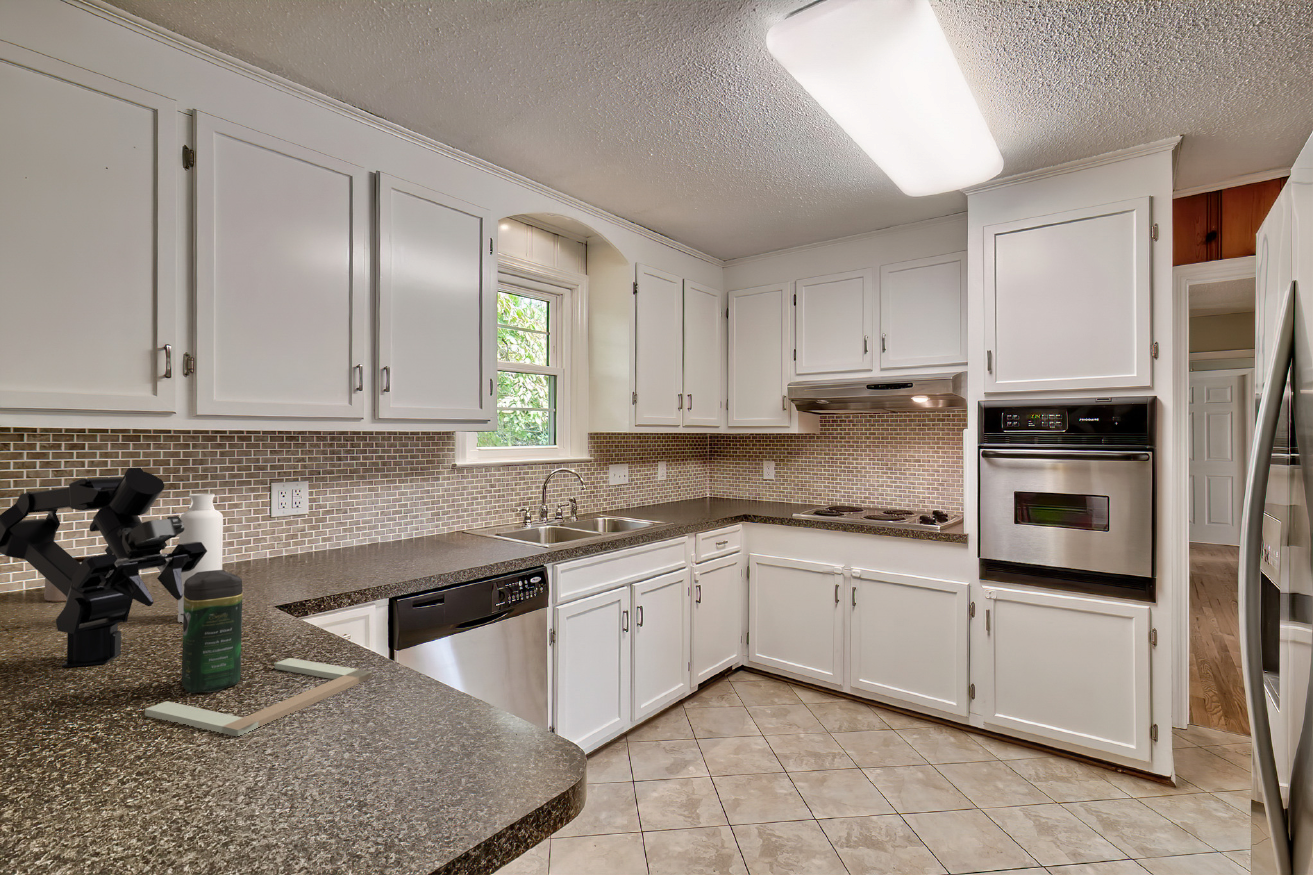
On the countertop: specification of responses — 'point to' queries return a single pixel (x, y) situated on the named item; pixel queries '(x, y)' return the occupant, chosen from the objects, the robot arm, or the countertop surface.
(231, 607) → the coffee jar
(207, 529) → the bottle
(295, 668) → the frame
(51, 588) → the planter
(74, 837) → the countertop surface
